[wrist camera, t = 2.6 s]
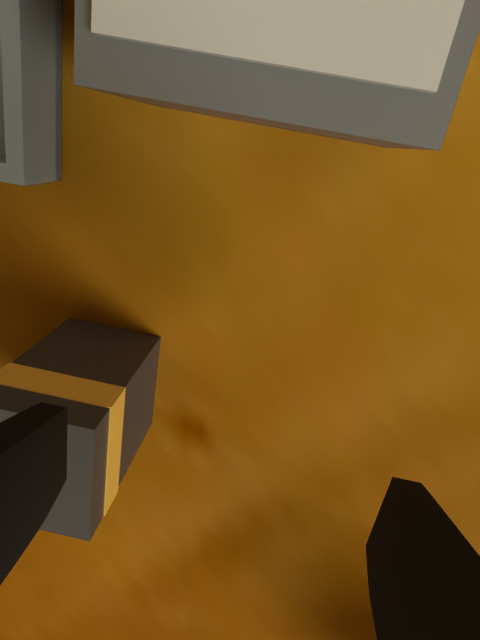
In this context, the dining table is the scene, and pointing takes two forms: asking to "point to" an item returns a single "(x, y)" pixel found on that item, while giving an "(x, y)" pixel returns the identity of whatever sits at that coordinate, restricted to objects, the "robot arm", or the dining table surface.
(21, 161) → the tray
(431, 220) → the dining table surface
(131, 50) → the pale grey flat box
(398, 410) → the dining table surface
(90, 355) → the block
